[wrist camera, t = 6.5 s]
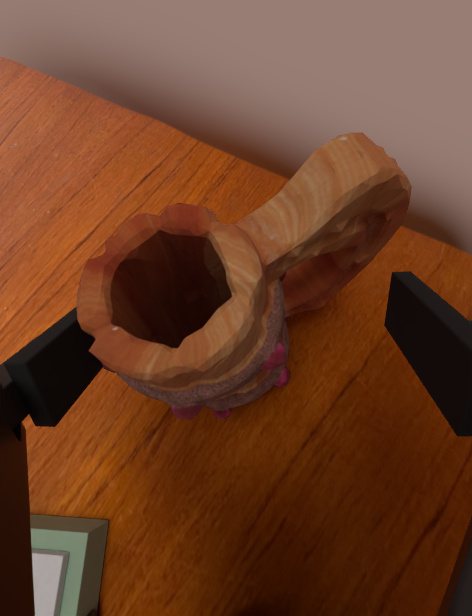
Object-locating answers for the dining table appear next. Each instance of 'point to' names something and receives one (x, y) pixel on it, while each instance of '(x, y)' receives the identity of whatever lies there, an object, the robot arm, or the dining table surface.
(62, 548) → the scale
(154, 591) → the dining table surface
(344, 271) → the mug
